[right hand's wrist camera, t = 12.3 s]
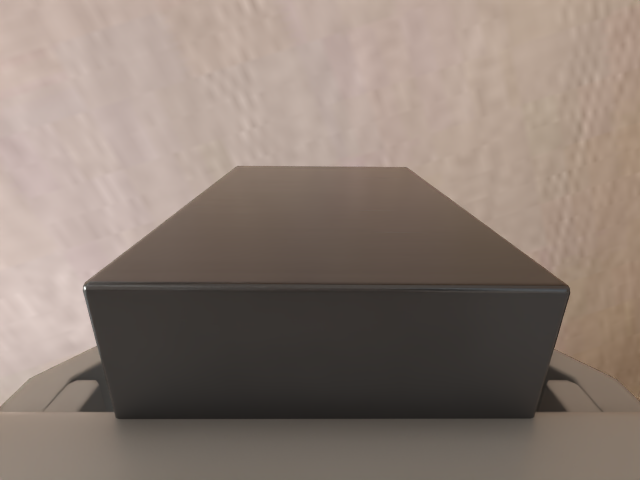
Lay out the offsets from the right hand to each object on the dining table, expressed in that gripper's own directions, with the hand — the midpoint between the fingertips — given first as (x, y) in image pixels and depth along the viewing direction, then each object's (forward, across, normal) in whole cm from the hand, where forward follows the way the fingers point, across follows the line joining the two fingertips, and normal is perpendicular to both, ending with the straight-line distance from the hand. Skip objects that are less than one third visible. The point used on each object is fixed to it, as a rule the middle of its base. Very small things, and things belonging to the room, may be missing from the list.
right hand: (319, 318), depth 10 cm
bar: (+3, 0, +10) cm, 10 cm away
